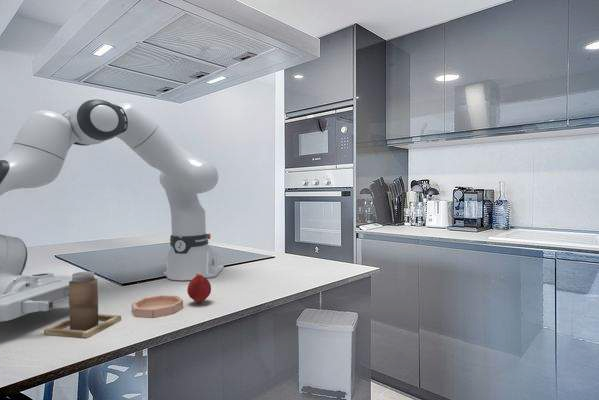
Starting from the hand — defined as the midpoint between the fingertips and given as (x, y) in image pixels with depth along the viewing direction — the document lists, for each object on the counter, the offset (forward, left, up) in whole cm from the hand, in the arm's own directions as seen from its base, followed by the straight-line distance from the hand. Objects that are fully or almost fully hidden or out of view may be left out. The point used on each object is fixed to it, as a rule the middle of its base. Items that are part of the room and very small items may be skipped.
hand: (69, 298), depth 77 cm
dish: (-13, +13, -6) cm, 19 cm away
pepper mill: (0, +4, -6) cm, 7 cm away
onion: (-19, +21, -6) cm, 29 cm away
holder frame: (0, +4, -6) cm, 7 cm away
